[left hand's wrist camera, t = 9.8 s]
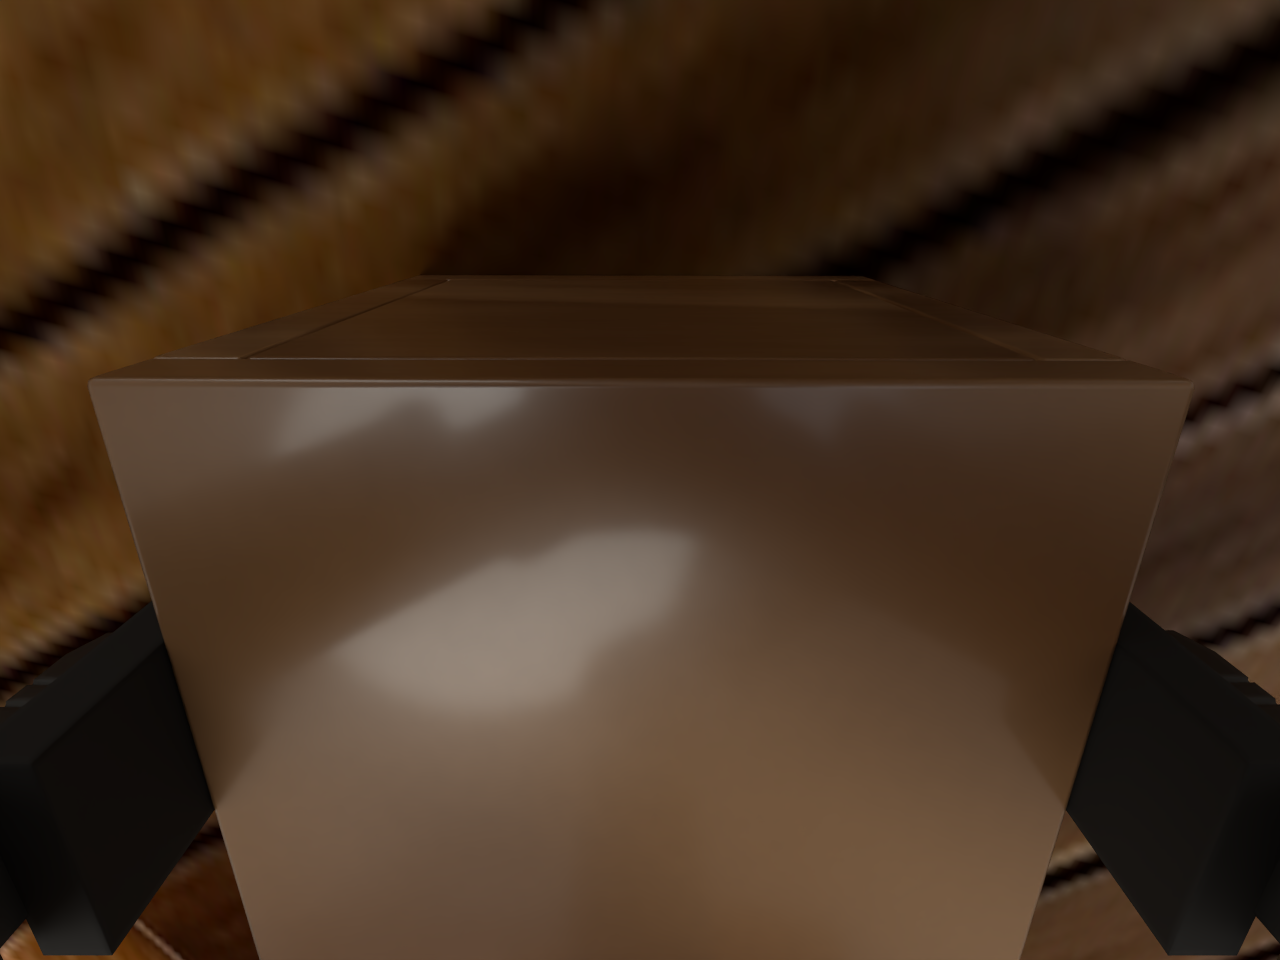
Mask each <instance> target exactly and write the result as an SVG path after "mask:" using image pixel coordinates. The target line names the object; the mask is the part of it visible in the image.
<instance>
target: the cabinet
mask: <svg viewBox="0 0 1280 960" xmlns="http://www.w3.org/2000/svg"><path fill="white" fill-rule="evenodd" d="M88 390H89V393H90V396H91V400H92V403H93V406H94V410H95V413H96V416H97V420H98V423H99V426H100V430H101V433H102V436H103V440H104V443H105V446H106V449H107V453H108V456H109V459H110V463H111V466H112V469H113V473H114V476H115V479H116V483H117V486H118V489H119V493H120V496H121V499H122V503H123V506H124V509H125V513H126V516H127V519H128V523H129V526H130V529H131V533H132V536H133V539H134V543H135V546H136V549H137V553H138V556H139V559H140V563H141V566H142V569H143V573H144V576H145V579H146V583H147V586H148V589H149V593H150V596H151V599H152V603H153V606H154V609H155V613H156V616H157V619H158V623H159V626H160V629H161V633H162V636H163V639H164V642H165V646H166V649H167V652H168V656H169V659H170V662H171V666H172V669H173V672H174V676H175V679H176V682H177V686H178V689H179V692H180V696H181V699H182V702H183V706H184V709H185V712H186V716H187V719H188V722H189V726H190V729H191V732H192V736H193V739H194V742H195V746H196V749H197V752H198V756H199V759H200V762H201V766H202V769H203V772H204V776H205V779H206V782H207V786H208V789H209V792H210V796H211V799H212V802H213V806H214V809H215V812H216V816H217V819H218V822H219V826H220V829H221V832H222V835H223V839H224V842H225V845H226V849H227V852H228V855H229V859H230V862H231V865H232V869H233V872H234V875H235V879H236V882H237V885H238V889H239V892H240V895H241V899H242V902H243V905H244V909H245V912H246V915H247V919H248V922H249V925H250V929H251V932H252V935H253V939H254V942H255V945H256V949H257V952H258V955H259V959H260V960H1020V958H1021V955H1022V951H1023V948H1024V945H1025V941H1026V938H1027V935H1028V932H1029V928H1030V925H1031V922H1032V919H1033V915H1034V912H1035V909H1036V905H1037V902H1038V899H1039V896H1040V892H1041V889H1042V886H1043V883H1044V879H1045V876H1046V873H1047V869H1048V866H1049V863H1050V860H1051V856H1052V853H1053V850H1054V847H1055V843H1056V840H1057V837H1058V834H1059V830H1060V827H1061V824H1062V820H1063V817H1064V814H1065V811H1066V807H1067V804H1068V801H1069V798H1070V794H1071V791H1072V788H1073V784H1074V781H1075V778H1076V775H1077V771H1078V768H1079V765H1080V762H1081V758H1082V755H1083V752H1084V748H1085V745H1086V742H1087V739H1088V735H1089V732H1090V729H1091V726H1092V722H1093V719H1094V716H1095V712H1096V709H1097V706H1098V703H1099V699H1100V696H1101V693H1102V690H1103V686H1104V683H1105V680H1106V677H1107V673H1108V670H1109V667H1110V663H1111V660H1112V657H1113V654H1114V650H1115V647H1116V644H1117V641H1118V637H1119V634H1120V631H1121V627H1122V624H1123V621H1124V618H1125V614H1126V611H1127V608H1128V605H1129V601H1130V598H1131V595H1132V591H1133V588H1134V585H1135V582H1136V578H1137V575H1138V572H1139V569H1140V565H1141V562H1142V559H1143V556H1144V552H1145V549H1146V546H1147V542H1148V539H1149V536H1150V533H1151V529H1152V526H1153V523H1154V520H1155V516H1156V513H1157V510H1158V506H1159V503H1160V500H1161V497H1162V493H1163V490H1164V487H1165V484H1166V480H1167V477H1168V474H1169V470H1170V467H1171V464H1172V461H1173V457H1174V454H1175V451H1176V448H1177V444H1178V441H1179V438H1180V434H1181V431H1182V428H1183V425H1184V421H1185V418H1186V415H1187V412H1188V408H1189V405H1190V402H1191V399H1192V395H1193V392H1194V383H1193V382H1192V381H1190V380H1188V379H1186V378H1183V377H1180V376H1177V375H1174V374H1171V373H1167V372H1164V371H1161V370H1158V369H1155V368H1152V367H1148V366H1145V365H1142V364H1139V363H1136V362H1132V361H1126V360H1125V359H1123V358H1121V357H1117V356H1114V355H1111V354H1108V353H1105V352H1101V351H1098V350H1095V349H1092V348H1089V347H1085V346H1082V345H1079V344H1076V343H1073V342H1070V341H1066V340H1063V339H1060V338H1057V337H1054V336H1050V335H1047V334H1044V333H1041V332H1038V331H1035V330H1031V329H1028V328H1025V327H1022V326H1019V325H1015V324H1012V323H1009V322H1006V321H1003V320H1000V319H996V318H993V317H990V316H987V315H984V314H980V313H977V312H974V311H971V310H968V309H964V308H961V307H958V306H955V305H952V304H949V303H945V302H942V301H939V300H936V299H933V298H929V297H926V296H923V295H920V294H917V293H914V292H910V291H907V290H904V289H901V288H898V287H894V286H891V285H888V284H885V283H882V282H879V281H875V280H873V279H870V278H867V277H863V276H577V275H419V276H415V277H412V278H409V279H405V280H402V281H399V282H396V283H392V284H389V285H386V286H383V287H379V288H376V289H373V290H370V291H366V292H363V293H360V294H357V295H354V296H350V297H347V298H344V299H341V300H337V301H334V302H331V303H328V304H324V305H321V306H318V307H315V308H311V309H308V310H305V311H302V312H298V313H295V314H292V315H289V316H286V317H282V318H279V319H276V320H273V321H269V322H266V323H263V324H260V325H256V326H253V327H250V328H247V329H243V330H240V331H237V332H234V333H230V334H227V335H224V336H221V337H217V338H214V339H211V340H208V341H205V342H201V343H198V344H195V345H192V346H188V347H185V348H182V349H179V350H175V351H172V352H169V353H166V354H162V355H159V356H156V357H154V358H153V359H150V360H146V361H143V362H140V363H137V364H134V365H130V366H127V367H124V368H121V369H117V370H114V371H111V372H108V373H105V374H101V375H98V376H95V377H93V378H91V379H90V380H89V381H88Z"/></svg>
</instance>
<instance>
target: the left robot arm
mask: <svg viewBox="0 0 1280 960" xmlns="http://www.w3.org/2000/svg"><path fill="white" fill-rule="evenodd" d="M1275 700H1276V699H1275V698H1274V697H1272V696H1271V695H1270V694H1269V693H1267V692H1266V691H1265V690H1263V689H1262V688H1261V687H1260V686H1258V685H1257V684H1256V683H1249V681H1248V677H1247V676H1246V675H1244V674H1243V673H1242V672H1240V671H1239V670H1238V669H1237V668H1235V667H1234V666H1233V665H1231V664H1230V663H1229V662H1228V661H1226V660H1225V659H1224V658H1222V657H1221V656H1220V655H1219V654H1217V653H1216V652H1214V651H1212V650H1210V649H1209V648H1207V647H1205V646H1203V645H1201V644H1199V643H1197V642H1195V641H1193V640H1191V639H1189V638H1187V637H1185V636H1183V635H1181V634H1179V633H1177V632H1175V631H1174V630H1164V629H1162V628H1161V627H1160V626H1159V625H1157V624H1156V623H1155V622H1154V621H1153V620H1151V619H1150V618H1149V617H1148V616H1146V615H1145V614H1144V613H1143V612H1141V611H1140V610H1139V609H1138V608H1137V607H1135V606H1134V605H1133V604H1132V603H1130V602H1129V605H1128V608H1127V611H1126V614H1125V618H1124V621H1123V624H1122V627H1121V631H1120V634H1119V637H1118V641H1117V644H1116V647H1115V650H1114V654H1113V657H1112V660H1111V663H1110V667H1109V670H1108V673H1107V677H1106V680H1105V683H1104V686H1103V690H1102V693H1101V696H1100V699H1099V703H1098V706H1097V709H1096V712H1095V716H1094V719H1093V722H1092V726H1091V729H1090V732H1089V735H1088V739H1087V742H1086V745H1085V748H1084V752H1083V755H1082V758H1081V762H1080V765H1079V768H1078V771H1077V775H1076V778H1075V781H1074V784H1073V788H1072V791H1071V794H1070V798H1069V801H1068V804H1067V807H1066V811H1067V812H1068V813H1069V815H1070V816H1071V818H1072V819H1073V820H1074V822H1075V823H1076V825H1077V826H1078V828H1079V829H1080V830H1081V832H1082V833H1083V835H1084V836H1085V838H1086V839H1087V840H1088V842H1089V843H1090V845H1091V846H1092V848H1093V849H1094V850H1095V852H1096V853H1097V855H1098V856H1099V857H1100V859H1101V860H1102V862H1103V863H1104V865H1105V866H1106V867H1107V869H1108V870H1109V872H1110V873H1111V875H1112V876H1113V877H1114V879H1115V880H1116V882H1117V883H1118V885H1119V886H1120V887H1121V889H1122V890H1123V892H1124V893H1125V894H1126V896H1127V897H1128V899H1129V900H1130V902H1131V903H1132V904H1133V906H1134V907H1135V909H1136V910H1137V912H1138V913H1139V914H1140V916H1141V917H1142V919H1143V920H1144V922H1145V923H1146V924H1147V926H1148V927H1149V929H1150V930H1151V932H1152V933H1153V934H1154V936H1155V937H1156V939H1157V940H1158V941H1159V943H1160V944H1161V946H1162V947H1163V949H1164V950H1165V951H1166V953H1167V954H1168V955H1237V954H1238V952H1239V950H1240V948H1241V946H1242V944H1243V941H1244V939H1245V937H1246V935H1247V933H1248V931H1249V929H1250V927H1251V925H1252V923H1253V921H1254V919H1255V917H1257V918H1258V919H1259V920H1260V921H1261V922H1262V923H1263V925H1264V926H1265V927H1266V928H1267V929H1268V930H1269V932H1270V933H1271V934H1272V935H1273V936H1274V937H1275V939H1276V940H1277V941H1278V942H1279V943H1280V705H1277V704H1276V701H1275ZM214 810H215V809H214V806H213V802H212V799H211V796H210V792H209V789H208V786H207V782H206V779H205V776H204V772H203V769H202V766H201V762H200V759H199V756H198V752H197V749H196V746H195V742H194V739H193V736H192V732H191V729H190V726H189V722H188V719H187V716H186V712H185V709H184V706H183V702H182V699H181V696H180V692H179V689H178V686H177V682H176V679H175V676H174V672H173V669H172V666H171V662H170V659H169V656H168V652H167V649H166V646H165V642H164V639H163V636H162V633H161V629H160V626H159V623H158V619H157V616H156V613H155V609H154V606H153V603H152V601H151V602H150V603H149V604H148V605H146V606H145V607H144V608H143V609H141V610H140V611H139V612H138V613H137V614H135V615H134V616H133V617H132V618H130V619H129V620H128V621H127V622H125V623H124V624H123V625H122V626H121V627H119V628H118V629H117V630H116V631H114V632H113V633H107V634H105V635H103V636H101V637H99V638H97V639H95V640H93V641H91V642H89V643H87V644H85V645H83V646H81V647H79V648H78V649H76V650H74V651H72V652H70V653H68V654H66V655H65V656H63V657H62V658H61V659H60V660H58V661H57V662H56V663H55V664H53V665H52V666H51V667H49V668H48V669H47V670H46V671H44V672H43V673H42V674H40V675H39V676H38V677H37V678H35V679H34V683H33V685H26V686H25V687H24V688H23V689H21V690H20V691H19V692H18V693H16V694H15V695H14V696H12V697H11V698H10V699H9V700H7V701H6V706H5V707H0V948H1V947H2V946H3V944H4V943H5V942H6V941H7V940H8V939H9V937H10V936H11V935H12V934H13V933H14V932H15V930H16V929H17V928H18V927H19V926H20V925H21V923H22V922H23V921H24V920H25V919H26V920H27V922H28V924H29V926H30V928H31V930H32V932H33V934H34V936H35V938H36V940H37V942H38V945H39V947H40V949H41V951H42V953H43V955H113V953H114V952H115V951H116V949H117V948H118V946H119V945H120V943H121V942H122V941H123V939H124V938H125V936H126V935H127V933H128V932H129V931H130V929H131V928H132V926H133V925H134V923H135V922H136V921H137V919H138V918H139V916H140V915H141V914H142V912H143V911H144V909H145V908H146V906H147V905H148V904H149V902H150V901H151V899H152V898H153V896H154V895H155V894H156V892H157V891H158V889H159V888H160V886H161V885H162V884H163V882H164V881H165V879H166V878H167V877H168V875H169V874H170V872H171V871H172V869H173V868H174V867H175V865H176V864H177V862H178V861H179V859H180V858H181V857H182V855H183V854H184V852H185V851H186V849H187V848H188V847H189V845H190V844H191V842H192V841H193V840H194V838H195V837H196V835H197V834H198V832H199V831H200V830H201V828H202V827H203V825H204V824H205V822H206V821H207V820H208V818H209V817H210V815H211V814H212V812H213V811H214ZM0 960H3V958H2V957H1V955H0ZM1277 960H1280V955H1279V957H1278V958H1277Z"/></svg>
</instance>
